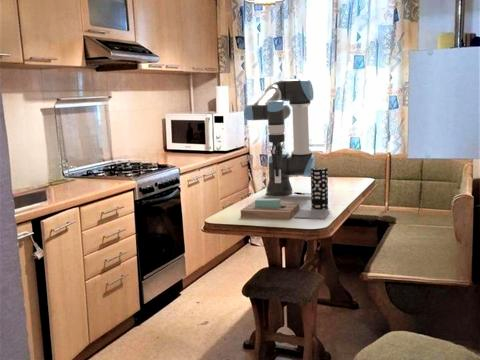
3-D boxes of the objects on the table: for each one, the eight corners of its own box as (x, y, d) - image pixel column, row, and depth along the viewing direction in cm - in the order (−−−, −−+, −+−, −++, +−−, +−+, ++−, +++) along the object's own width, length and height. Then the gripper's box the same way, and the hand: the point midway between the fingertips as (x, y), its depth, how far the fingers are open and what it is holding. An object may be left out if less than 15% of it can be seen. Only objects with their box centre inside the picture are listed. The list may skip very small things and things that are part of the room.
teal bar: (257, 208, 255) (257, 198, 254) (281, 208, 251) (280, 198, 250) (255, 210, 251) (254, 200, 250) (279, 210, 247) (278, 200, 246)
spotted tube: (308, 207, 261) (307, 168, 258) (322, 205, 264) (322, 166, 261) (316, 210, 253) (315, 170, 250) (331, 208, 256) (330, 168, 253)
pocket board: (253, 208, 264) (253, 201, 263) (299, 209, 256) (299, 202, 255) (240, 217, 245) (240, 210, 245) (290, 219, 238) (289, 212, 237)
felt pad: (301, 211, 253) (301, 210, 253) (329, 212, 248) (329, 211, 248) (294, 218, 240) (294, 216, 240) (324, 219, 235) (324, 218, 235)
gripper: (272, 132, 250) (274, 180, 254) (264, 135, 238) (266, 185, 242) (287, 132, 248) (288, 180, 252) (280, 135, 236) (282, 185, 240)
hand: (278, 182), depth 247 cm, fingers closed
